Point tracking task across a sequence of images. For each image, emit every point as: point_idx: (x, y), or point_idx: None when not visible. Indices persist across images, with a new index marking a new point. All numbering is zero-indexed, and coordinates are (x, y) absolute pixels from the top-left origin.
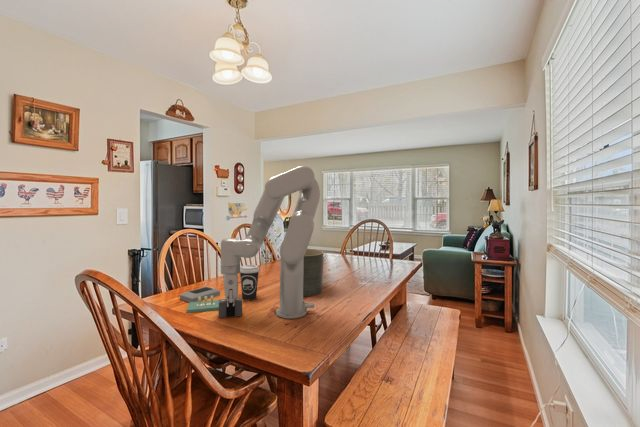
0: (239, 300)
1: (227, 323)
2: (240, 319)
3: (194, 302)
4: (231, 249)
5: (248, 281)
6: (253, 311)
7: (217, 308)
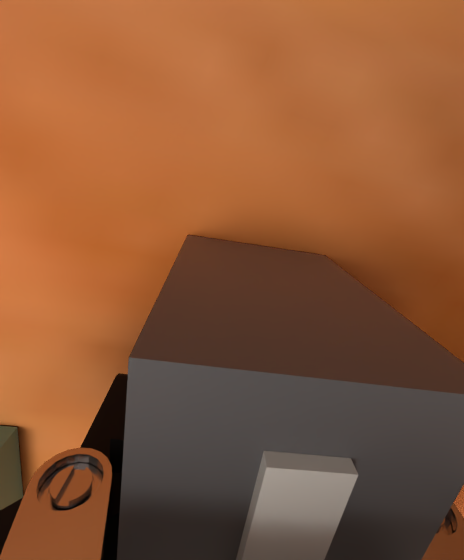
0: (408, 466)
1: None
2: (433, 299)
3: None
4: None
5: None
6: (233, 37)
7: (9, 491)
